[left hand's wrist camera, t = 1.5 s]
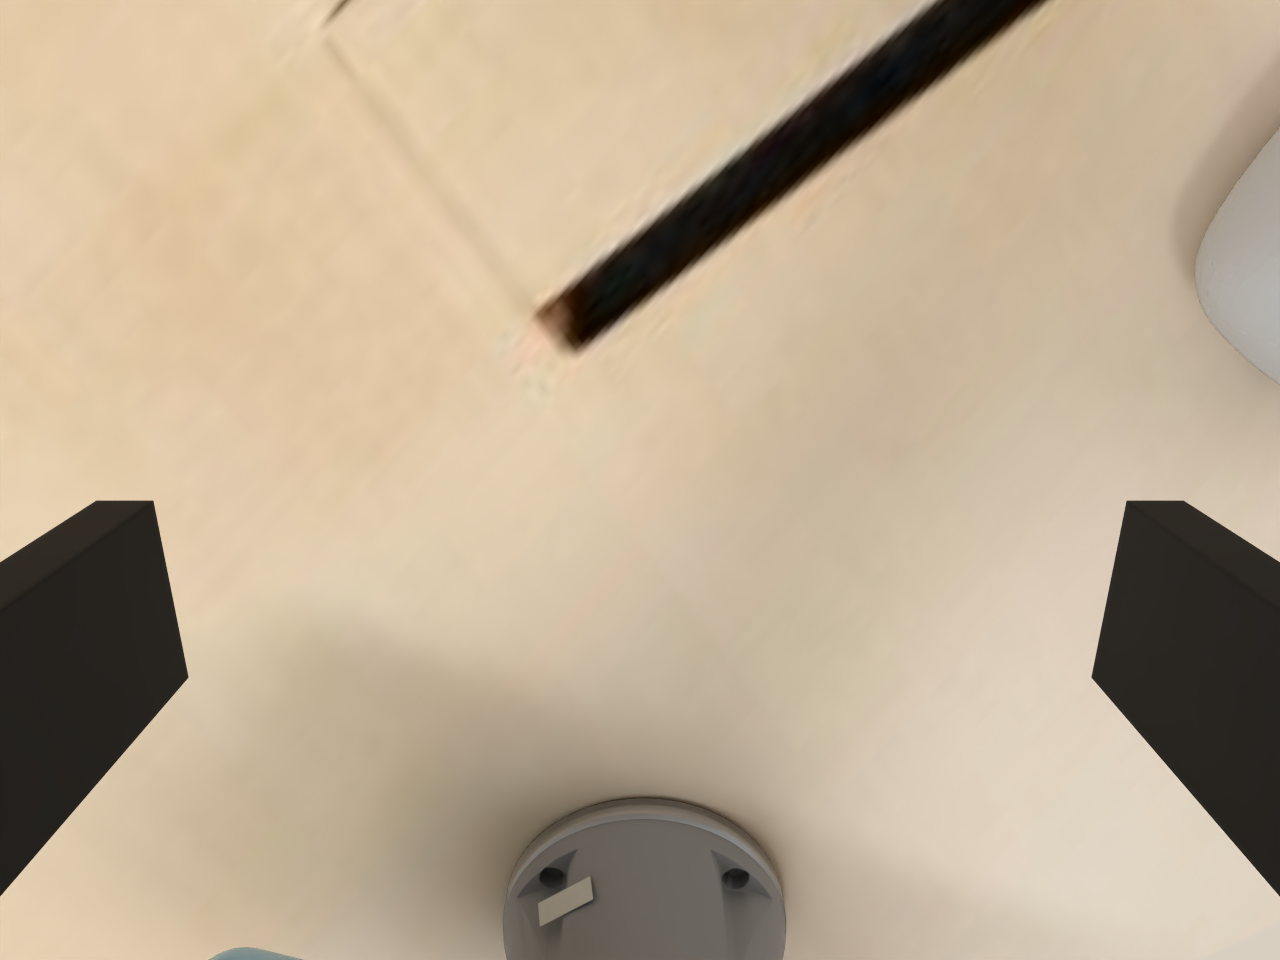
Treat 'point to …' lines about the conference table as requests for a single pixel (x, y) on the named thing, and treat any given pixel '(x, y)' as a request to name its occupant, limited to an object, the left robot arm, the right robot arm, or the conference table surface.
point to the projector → (1246, 264)
